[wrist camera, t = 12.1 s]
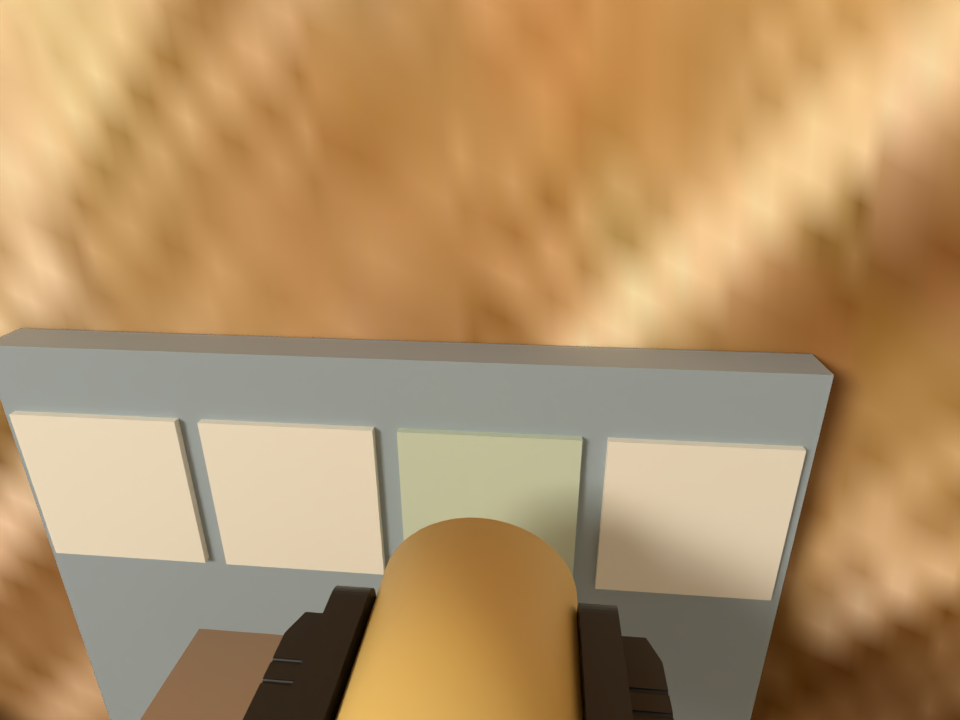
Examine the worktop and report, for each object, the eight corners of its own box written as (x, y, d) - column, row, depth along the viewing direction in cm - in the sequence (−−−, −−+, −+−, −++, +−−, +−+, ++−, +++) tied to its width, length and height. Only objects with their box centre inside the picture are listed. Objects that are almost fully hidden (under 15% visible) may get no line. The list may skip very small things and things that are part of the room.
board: (160, 776, 23) (61, 951, 19) (20, 328, 16) (-198, 424, 12) (704, 830, 22) (750, 1039, 17) (812, 354, 14) (942, 479, 10)
